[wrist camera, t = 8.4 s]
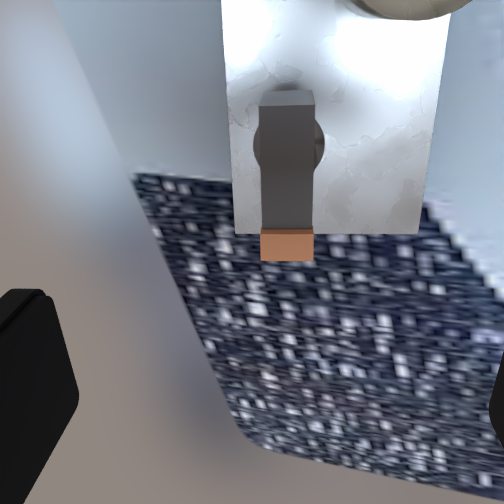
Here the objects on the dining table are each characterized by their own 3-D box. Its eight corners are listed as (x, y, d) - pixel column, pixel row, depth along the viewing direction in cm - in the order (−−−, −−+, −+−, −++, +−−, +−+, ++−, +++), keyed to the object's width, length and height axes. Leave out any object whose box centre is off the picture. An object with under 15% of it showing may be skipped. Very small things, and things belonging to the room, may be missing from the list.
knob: (261, 83, 21) (248, 108, 15) (316, 81, 21) (325, 107, 15) (264, 202, 24) (254, 260, 18) (313, 202, 24) (319, 261, 18)
